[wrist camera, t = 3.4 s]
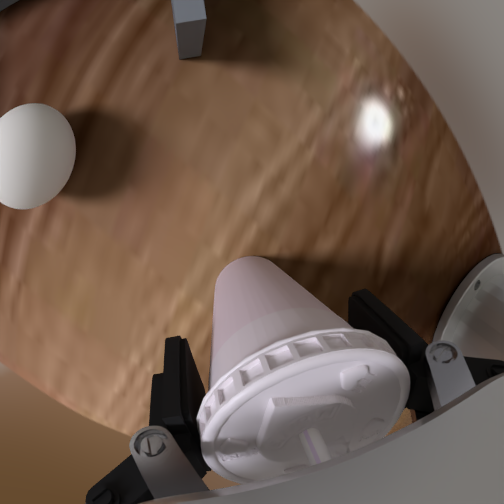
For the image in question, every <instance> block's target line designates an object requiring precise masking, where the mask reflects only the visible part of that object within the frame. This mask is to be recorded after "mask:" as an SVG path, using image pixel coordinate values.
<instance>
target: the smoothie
mask: <svg viewBox="0 0 504 504" xmlns="http://www.w3.org/2000/svg"><path fill="white" fill-rule="evenodd" d="M409 392H410V375H409V372H408V370H407V368H406V366H405V365H404V363H403V362H402V361H401V360H400V359H399V358H398V357H397V356H396V353H395V352H394V351H393V349H392V348H391V347H390V345H389V344H388V343H387V341H386V340H384V339H382V338H381V337H379V336H377V335H375V334H373V333H371V332H369V331H366V330H359V329H354V328H353V327H351V326H350V325H349V324H348V323H347V322H346V321H344V320H343V319H342V318H341V317H339V316H338V315H336V314H335V313H334V312H333V311H332V310H330V309H329V308H328V307H327V306H325V305H324V304H323V303H322V302H321V301H319V300H318V299H317V298H316V297H314V296H313V295H312V294H311V293H309V292H308V291H307V290H306V289H305V288H303V287H302V286H301V285H300V284H298V283H297V282H296V281H295V280H293V279H292V278H291V277H290V276H289V275H287V274H286V273H285V272H284V271H282V270H281V269H280V268H279V267H277V266H276V265H275V264H274V263H273V262H271V261H270V260H268V259H265V258H262V257H258V256H247V257H242V258H239V259H237V260H235V261H233V262H231V263H230V264H228V265H227V266H226V267H225V268H224V269H223V270H222V272H221V273H220V275H219V276H218V278H217V281H216V285H215V296H214V309H213V324H212V339H211V355H210V372H209V389H208V393H207V394H206V395H205V397H204V398H203V401H202V403H201V406H200V409H199V412H198V415H197V418H196V419H197V429H198V432H199V434H200V439H201V451H202V455H203V458H204V460H205V462H206V463H207V465H208V466H209V467H210V468H211V469H212V470H213V471H214V472H216V473H217V474H219V475H220V476H222V477H224V478H226V479H228V480H231V481H234V482H237V483H240V484H246V483H251V482H255V481H260V480H264V479H268V478H272V477H276V476H280V475H283V474H287V473H290V472H294V471H297V470H300V469H304V468H307V467H310V466H313V465H316V464H319V463H322V462H325V461H328V460H331V459H333V458H336V457H339V456H341V455H344V454H347V453H349V452H352V451H354V450H357V449H359V448H361V447H364V446H366V445H368V444H371V443H373V442H375V441H377V440H380V439H382V438H383V437H384V436H385V435H386V434H387V433H388V432H389V431H390V430H391V428H392V427H393V426H394V424H395V423H396V422H397V420H398V419H399V417H400V415H401V414H402V412H403V410H404V408H405V405H406V403H407V400H408V397H409Z"/></svg>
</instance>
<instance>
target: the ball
mask: <svg viewBox="0 0 504 504" xmlns="http://www.w3.org/2000/svg"><path fill="white" fill-rule="evenodd" d="M75 156H76V144H75V138H74V134H73V131H72V128H71V126H70V124H69V122H68V121H67V120H66V118H65V117H64V116H63V115H62V114H61V113H60V112H59V111H57V110H56V109H54V108H52V107H50V106H48V105H44V104H37V103H32V104H25V105H21V106H18V107H16V108H14V109H12V110H10V111H9V112H7V113H6V114H5V115H3V116H2V117H1V118H0V202H1V203H3V204H4V205H6V206H8V207H12V208H16V209H31V208H35V207H38V206H41V205H43V204H45V203H46V202H48V201H49V200H51V199H52V198H54V197H55V196H56V195H57V194H58V193H59V192H60V191H61V189H62V188H63V187H64V185H65V184H66V182H67V181H68V179H69V177H70V174H71V172H72V169H73V166H74V162H75Z"/></svg>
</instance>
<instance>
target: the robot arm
mask: <svg viewBox="0 0 504 504" xmlns="http://www.w3.org/2000/svg"><path fill="white" fill-rule="evenodd" d="M348 324H349V325H350V326H351V327H353V328H354V329H359V330H366V331H369V332H371V333H373V334H375V335H377V336H379V337H381V338H382V339H384V340H386V341H387V343H388V344H389V345H390V347H391V348H392V349H393V351H394V352H395V353H396V356H397V357H398V358H399V359H400V360H401V361H402V362H403V363H404V365H405V366H406V368H407V370H408V372H409V375H410V392H409V397H408V400H407V403H406V405H405V408H406V407H407V408H408V409H410V412H411V418H412V424H410V425H408V426H406V427H404V428H403V429H401V430H399V431H396V432H394V433H392V434H390V435H388V436H386V437H384V438H382V439H380V440H377V441H375V442H373V443H371V444H368V445H366V446H364V447H361V448H359V449H357V450H354V451H352V452H349V453H347V454H344V455H341V456H339V457H336V458H333V459H331V460H328V461H325V462H322V463H319V464H316V465H313V466H310V467H307V468H304V469H300V470H297V471H294V472H290V473H287V474H283V475H280V476H276V477H272V478H268V479H264V480H260V481H255V482H251V483H246V484H241V485H237V486H232V487H227V488H221V489H216V490H209V489H208V487H207V486H206V485H205V483H204V482H203V480H202V478H203V477H204V476H205V475H206V474H207V473H206V471H211V468H210V467H209V466H208V465H207V463H206V462H205V460H204V458H203V455H202V451H201V439H200V434H199V432H198V429H197V419H196V418H197V415H198V412H199V409H200V406H201V403H202V401H203V398H204V397H205V395H206V393H205V389H204V386H203V383H202V381H201V378H200V375H199V373H198V370H197V367H196V364H195V362H194V359H193V356H192V353H191V350H190V347H189V344H188V341H187V339H186V338H184V339H181V337H180V336H175V337H170V338H166V340H165V353H164V371H163V373H160V374H154V375H153V378H152V389H151V403H150V419H149V426H148V427H144V428H142V429H140V430H139V431H137V432H136V433H135V434H134V435H133V437H132V438H131V440H130V451H131V455H130V456H129V457H128V458H127V459H125V460H124V461H123V462H122V463H121V464H120V465H118V466H117V467H116V468H115V469H114V470H112V471H111V472H110V473H109V474H107V475H106V476H105V477H104V478H103V479H101V480H100V481H99V482H98V483H96V484H95V485H94V486H93V487H92V488H91V489H90V490H89V491H88V493H87V495H86V503H85V504H504V255H503V254H493V255H491V256H489V257H487V258H485V259H484V260H483V261H481V262H480V263H479V264H477V265H476V266H475V267H474V268H473V269H472V270H471V271H470V272H469V274H468V275H467V276H466V277H465V279H464V280H463V281H462V282H461V284H460V285H459V287H458V288H457V290H456V291H455V293H454V294H453V296H452V297H451V299H450V301H449V303H448V304H447V306H446V308H445V310H444V312H443V314H442V316H441V319H440V321H439V323H438V326H437V329H436V331H435V334H434V338H433V342H432V343H431V344H429V345H428V344H427V343H426V342H425V341H424V340H423V339H422V338H421V337H420V336H419V335H418V334H417V333H415V332H414V331H413V330H412V329H411V328H410V327H409V326H408V325H407V324H406V323H404V322H403V321H402V320H401V319H400V318H399V317H398V316H397V315H396V314H394V313H393V312H392V311H391V310H390V309H389V308H388V307H387V306H385V305H384V304H383V303H382V302H381V301H380V300H379V299H377V298H376V297H375V296H374V295H373V294H372V293H371V292H369V291H368V290H367V289H362V290H359V291H356V292H353V293H352V296H351V297H349V301H348Z"/></svg>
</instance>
